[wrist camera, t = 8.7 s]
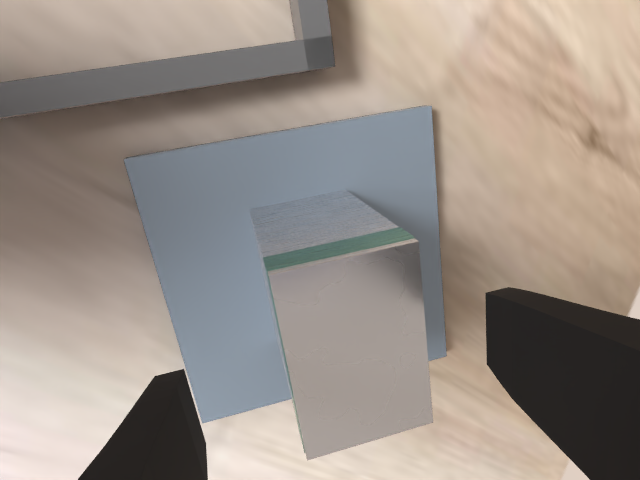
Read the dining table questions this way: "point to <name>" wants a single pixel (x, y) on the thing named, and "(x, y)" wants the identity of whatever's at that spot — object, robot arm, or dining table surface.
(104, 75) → the hinged gray frame
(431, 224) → the pad
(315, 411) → the block
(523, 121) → the dining table surface
